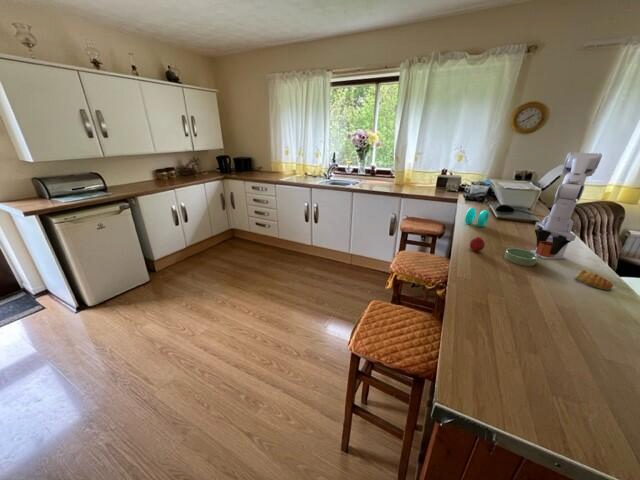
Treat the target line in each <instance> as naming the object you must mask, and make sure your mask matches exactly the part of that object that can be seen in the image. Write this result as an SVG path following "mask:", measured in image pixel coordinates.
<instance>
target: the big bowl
mask: <svg viewBox="0 0 640 480" xmlns="http://www.w3.org/2000/svg"><path fill="white" fill-rule="evenodd" d="M503 257H504V259H505V260H507V261H508V262H511V263H513V264H516V265H519V266H524V267H525V266H527V267H532V266H536V264H537V262H538V259H539V255H537V254H535V253H533V252H531V251H530V250H527V249H523V248H517V247H509V248H506V249H505V252H504V256H503Z"/></svg>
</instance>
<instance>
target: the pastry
mask: <svg viewBox="0 0 640 480" xmlns="http://www.w3.org/2000/svg"><path fill="white" fill-rule="evenodd" d="M574 278H575V280H577V281H578V282H579V283H582V284H585V285H588V286H590V287H593V288H595V289H600V290H606V291H608V290H612V289H613V287H614V284H613V283H612V282H611V281H610V280H608V279H606V278H604V277H603V276H601V275H599V274H597V273H594V272H592V271H587V270H585V269H581V270H579V272H578V273H577V275H576V276H575V277H574Z"/></svg>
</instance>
